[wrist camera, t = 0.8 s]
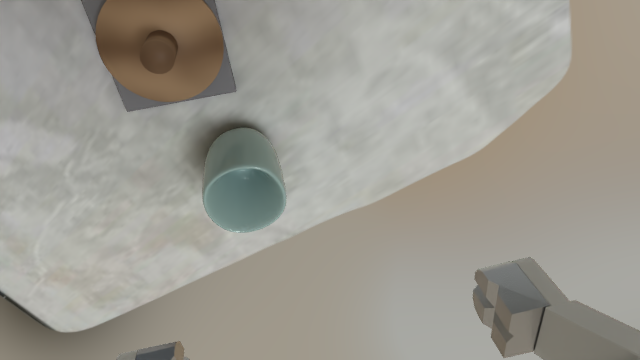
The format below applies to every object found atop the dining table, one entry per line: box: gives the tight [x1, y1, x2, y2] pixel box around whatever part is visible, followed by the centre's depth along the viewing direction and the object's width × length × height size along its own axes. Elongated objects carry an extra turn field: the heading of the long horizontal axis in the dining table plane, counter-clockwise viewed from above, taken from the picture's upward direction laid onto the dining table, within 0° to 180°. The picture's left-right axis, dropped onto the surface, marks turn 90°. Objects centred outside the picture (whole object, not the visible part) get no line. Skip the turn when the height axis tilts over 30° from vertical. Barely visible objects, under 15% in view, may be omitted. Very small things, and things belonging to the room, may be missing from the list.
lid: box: [96, 0, 224, 102], centre depth 39 cm, size 11×11×4 cm
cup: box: [202, 128, 286, 233], centre depth 45 cm, size 8×8×10 cm
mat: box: [81, 0, 236, 112], centre depth 41 cm, size 12×11×1 cm
